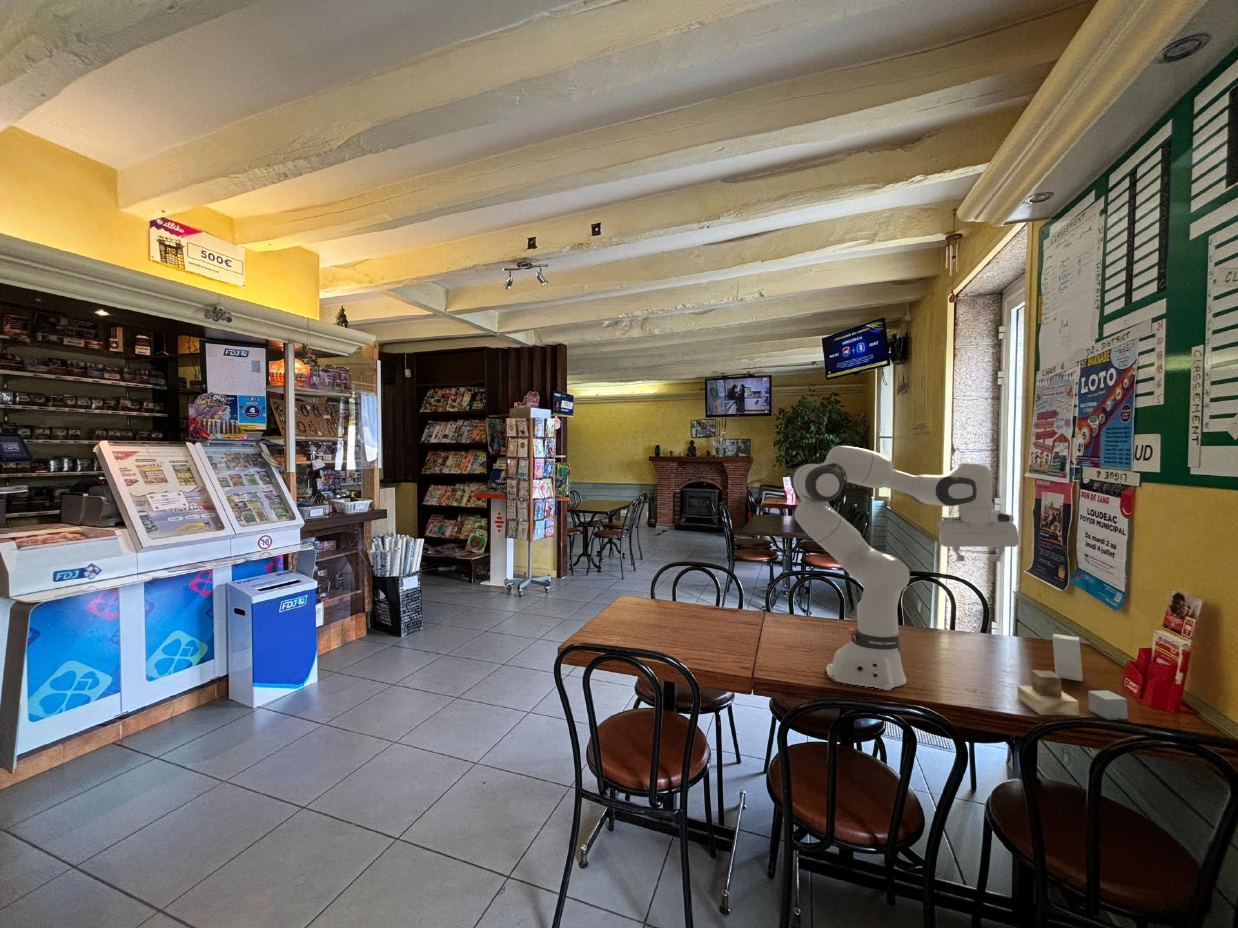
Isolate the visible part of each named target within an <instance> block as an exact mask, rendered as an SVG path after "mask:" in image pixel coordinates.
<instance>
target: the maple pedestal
mask: <svg viewBox="0 0 1238 928" xmlns="http://www.w3.org/2000/svg"><path fill="white" fill-rule="evenodd" d="M1061 692H1062V697H1051V696H1041V695H1040V694H1038V693H1037V692H1036V691H1035V690H1034V689H1033V688H1032V685H1017V699H1018V700H1019V701H1020V702H1022V703H1023V704H1025V705H1026V706H1027V707H1029V708H1030V709H1031V710H1033V711H1035V712H1036V713H1038V715H1040V716H1041V715H1042V716H1043V715H1045V716H1046V715H1047V716H1050V715H1051V716H1080V705H1079V703H1080V701H1078V700H1077V699H1075V698H1074V697H1073V696H1070V695H1069V694H1068V693H1065V692H1064V691H1063V690H1061Z"/></svg>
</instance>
